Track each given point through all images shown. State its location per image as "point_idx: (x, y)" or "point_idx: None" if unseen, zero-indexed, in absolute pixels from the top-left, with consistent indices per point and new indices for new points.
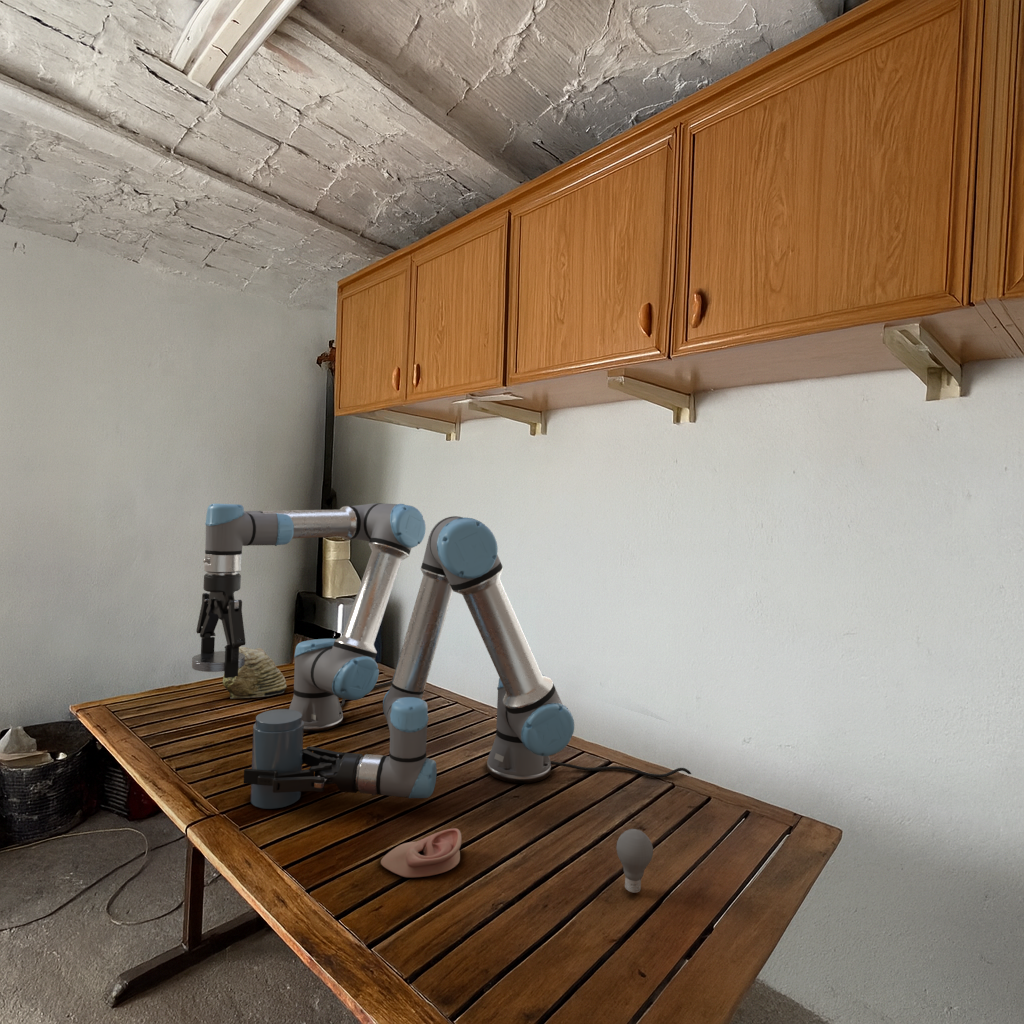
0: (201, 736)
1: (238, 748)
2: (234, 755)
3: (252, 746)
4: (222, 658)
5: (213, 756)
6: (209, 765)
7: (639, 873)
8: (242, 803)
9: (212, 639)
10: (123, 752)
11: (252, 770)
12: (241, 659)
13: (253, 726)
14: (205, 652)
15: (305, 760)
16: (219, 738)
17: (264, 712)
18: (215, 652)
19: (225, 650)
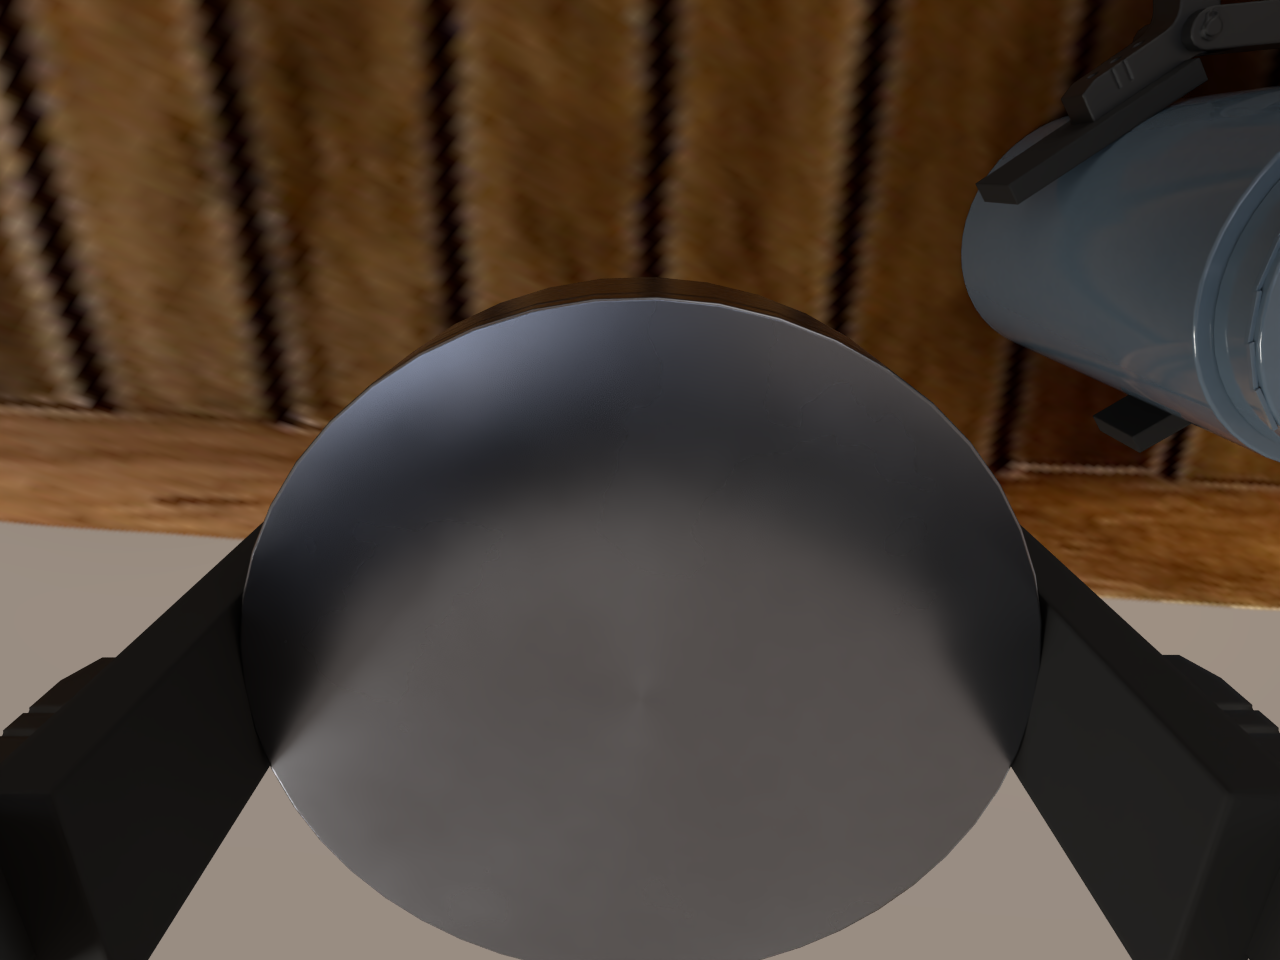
0: (54, 137)
1: (374, 58)
2: (463, 132)
3: (1151, 403)
4: (772, 704)
5: (405, 226)
6: (509, 295)
7: None
8: (996, 373)
9: (89, 802)
10: (102, 517)
11: (1182, 424)
12: (1000, 495)
13: (1256, 449)
14: (250, 735)
15: (1227, 51)
16: (144, 67)
17: (1277, 341)
18: (316, 624)
19: (1136, 946)
